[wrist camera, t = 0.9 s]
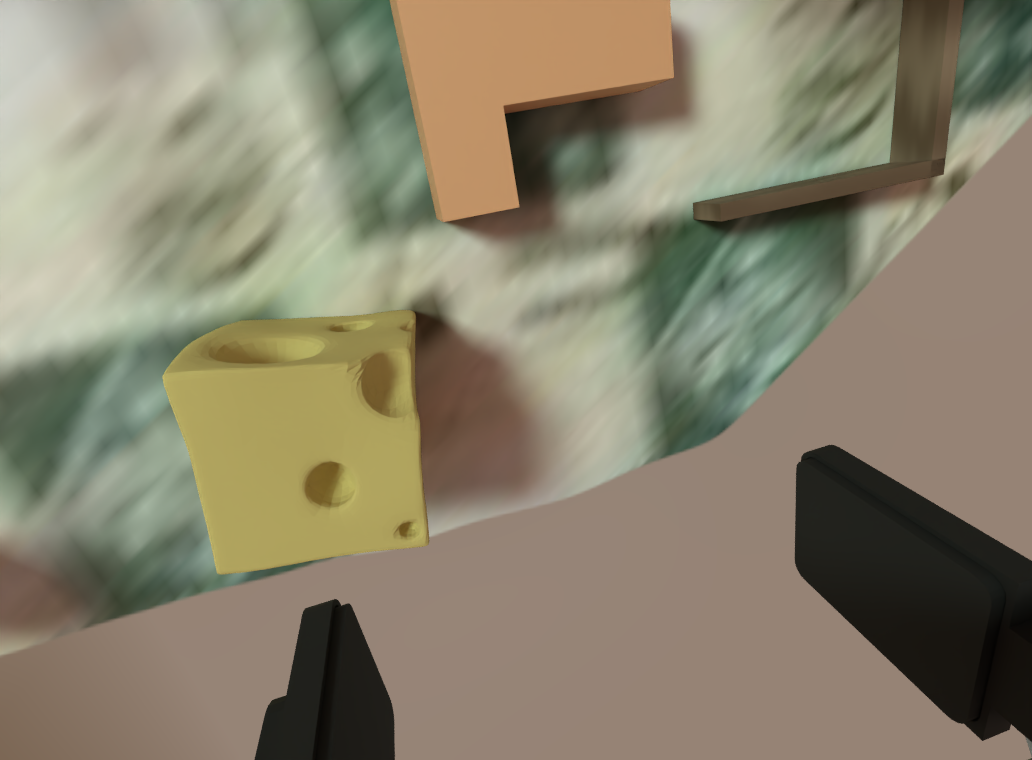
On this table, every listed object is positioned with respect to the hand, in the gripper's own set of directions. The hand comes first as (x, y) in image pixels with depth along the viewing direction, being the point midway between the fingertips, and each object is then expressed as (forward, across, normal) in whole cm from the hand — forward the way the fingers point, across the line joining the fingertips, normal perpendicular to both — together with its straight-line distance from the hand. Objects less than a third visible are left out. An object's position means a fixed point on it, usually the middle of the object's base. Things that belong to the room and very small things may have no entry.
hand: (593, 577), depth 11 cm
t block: (+24, -7, -12) cm, 28 cm away
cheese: (+24, +8, +3) cm, 26 cm away
